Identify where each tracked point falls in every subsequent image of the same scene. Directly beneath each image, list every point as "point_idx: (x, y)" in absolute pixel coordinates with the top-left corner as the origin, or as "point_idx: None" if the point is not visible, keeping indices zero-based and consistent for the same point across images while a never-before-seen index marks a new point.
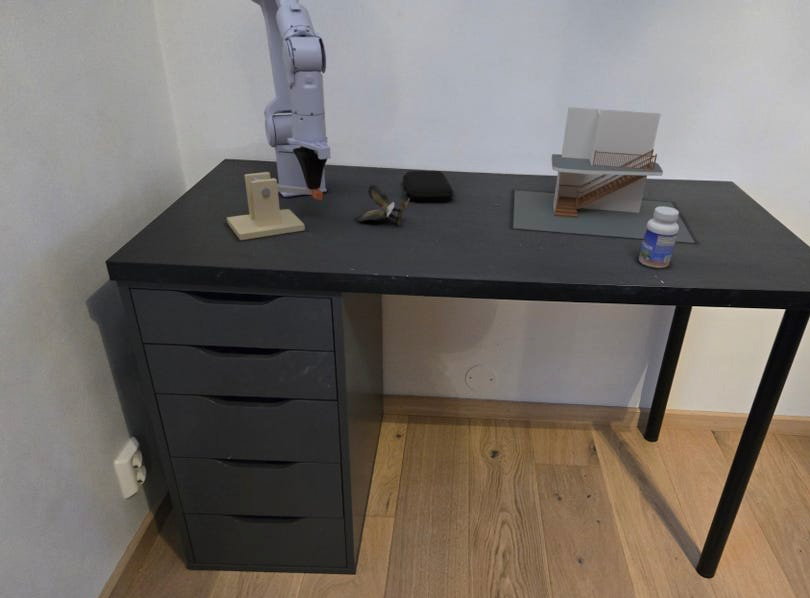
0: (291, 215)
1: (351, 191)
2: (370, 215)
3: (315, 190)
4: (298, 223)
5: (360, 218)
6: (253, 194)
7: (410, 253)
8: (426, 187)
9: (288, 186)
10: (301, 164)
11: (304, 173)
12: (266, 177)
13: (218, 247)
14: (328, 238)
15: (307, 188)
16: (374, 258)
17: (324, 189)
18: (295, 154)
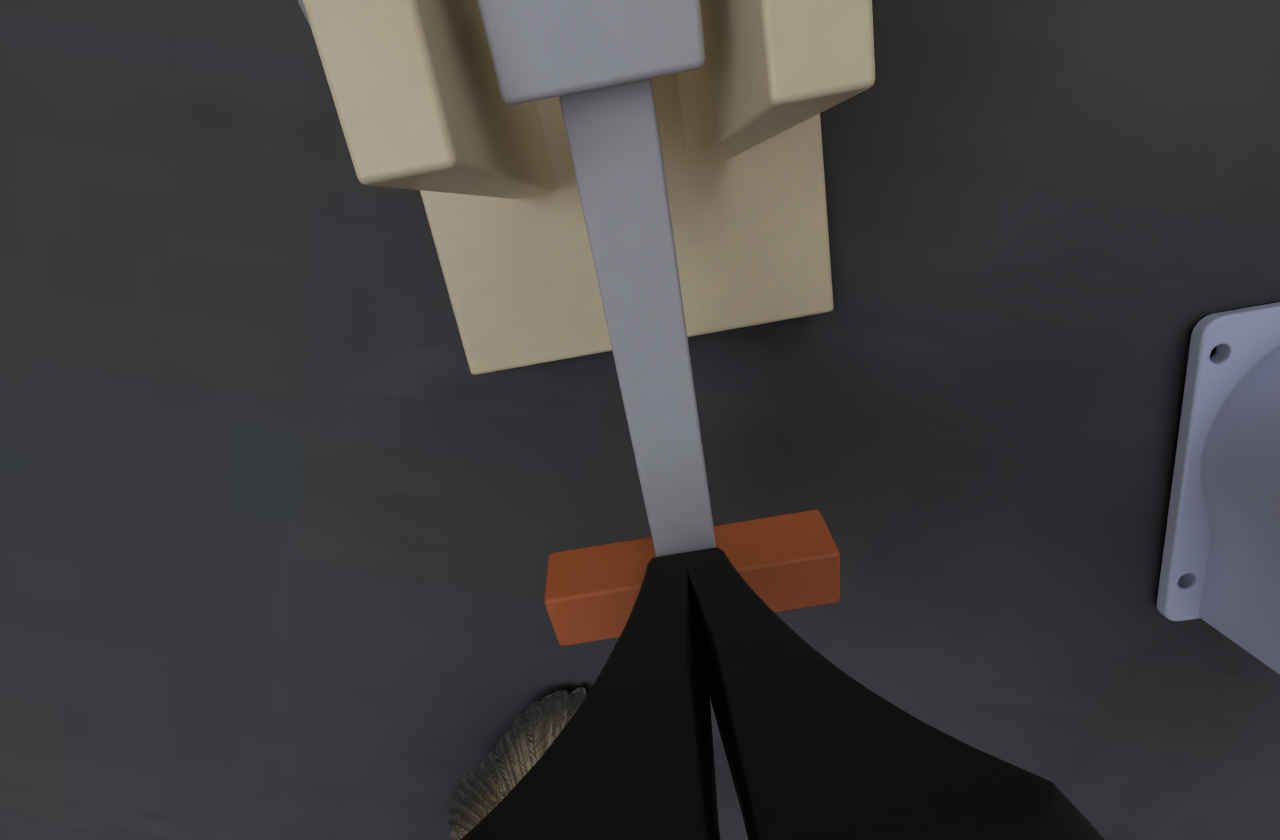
0: None
1: (1098, 737)
2: (499, 780)
3: (609, 601)
4: (494, 334)
5: (575, 708)
6: None
7: (100, 811)
8: None
9: (657, 359)
10: (739, 705)
11: (712, 631)
12: (751, 38)
13: None
14: (327, 483)
15: (681, 542)
16: (20, 657)
17: (1180, 609)
18: (943, 778)
